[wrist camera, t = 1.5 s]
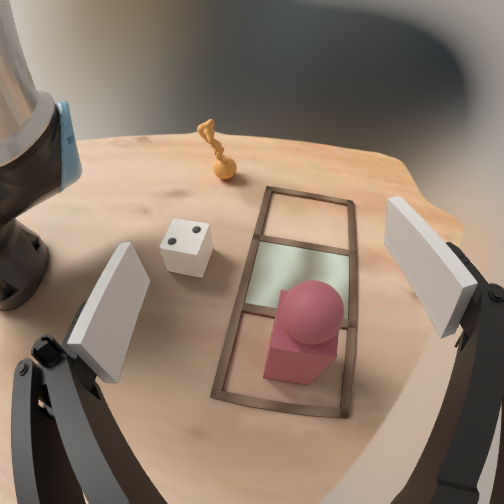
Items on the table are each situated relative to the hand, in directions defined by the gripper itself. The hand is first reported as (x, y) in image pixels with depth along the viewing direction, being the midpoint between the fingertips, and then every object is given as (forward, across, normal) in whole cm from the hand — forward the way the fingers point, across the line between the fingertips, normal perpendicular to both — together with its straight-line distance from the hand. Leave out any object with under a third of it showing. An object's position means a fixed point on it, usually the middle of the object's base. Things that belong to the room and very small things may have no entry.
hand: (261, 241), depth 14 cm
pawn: (+6, 0, -20) cm, 21 cm away
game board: (+16, +3, -17) cm, 24 cm away
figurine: (+36, -7, -9) cm, 38 cm away
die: (+19, -11, -14) cm, 26 cm away
